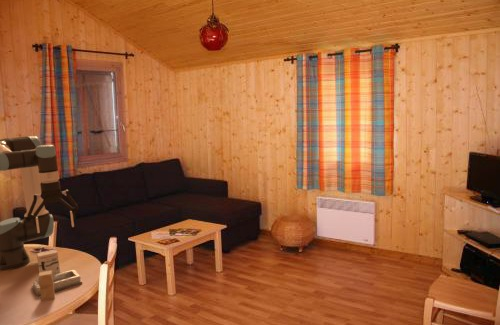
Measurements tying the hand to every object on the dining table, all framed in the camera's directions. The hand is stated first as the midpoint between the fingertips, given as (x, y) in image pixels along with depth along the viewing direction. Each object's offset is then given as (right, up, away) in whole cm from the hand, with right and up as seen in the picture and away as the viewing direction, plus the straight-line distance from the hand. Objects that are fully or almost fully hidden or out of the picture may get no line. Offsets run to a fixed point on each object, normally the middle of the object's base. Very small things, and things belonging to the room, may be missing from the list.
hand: (56, 229), depth 180 cm
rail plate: (-1, -26, +4) cm, 26 cm away
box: (0, -28, -7) cm, 29 cm away
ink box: (-10, -25, +15) cm, 31 cm away
